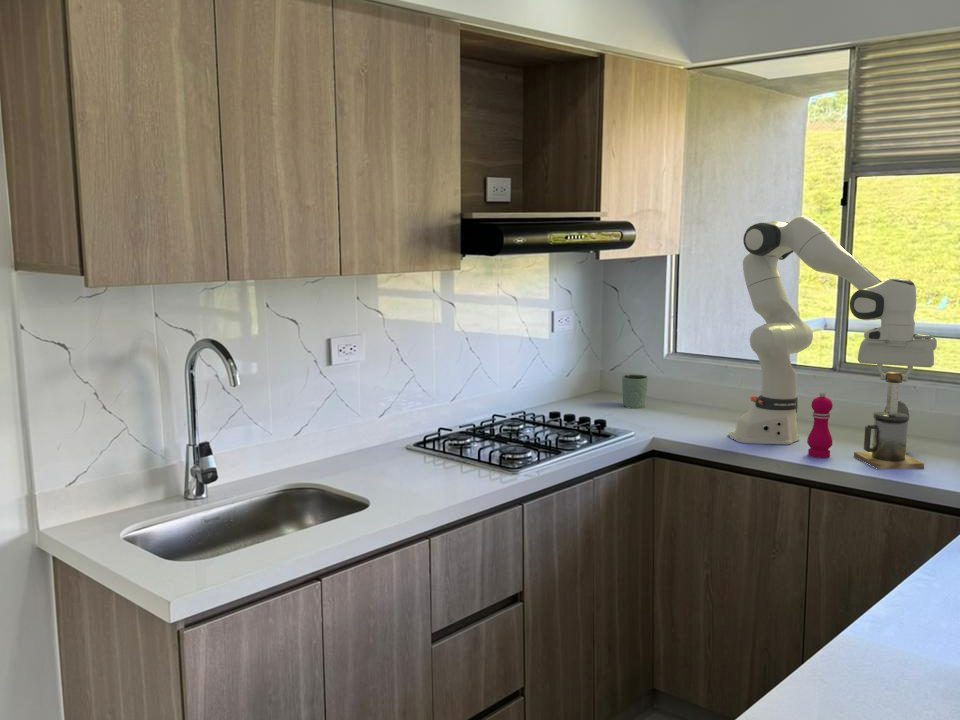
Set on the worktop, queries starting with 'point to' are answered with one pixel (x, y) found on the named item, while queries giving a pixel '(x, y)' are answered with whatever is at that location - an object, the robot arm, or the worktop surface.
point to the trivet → (889, 462)
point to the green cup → (634, 390)
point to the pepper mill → (820, 428)
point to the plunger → (893, 391)
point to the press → (887, 436)
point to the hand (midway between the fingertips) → (893, 380)
